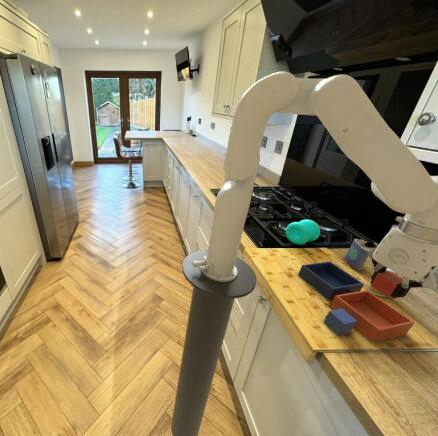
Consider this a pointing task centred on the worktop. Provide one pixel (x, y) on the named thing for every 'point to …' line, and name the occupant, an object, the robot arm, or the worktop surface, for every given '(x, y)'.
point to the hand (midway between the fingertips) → (385, 289)
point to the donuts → (302, 231)
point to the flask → (357, 254)
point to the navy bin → (329, 279)
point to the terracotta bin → (372, 315)
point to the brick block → (386, 282)
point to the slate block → (340, 321)
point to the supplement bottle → (375, 289)
